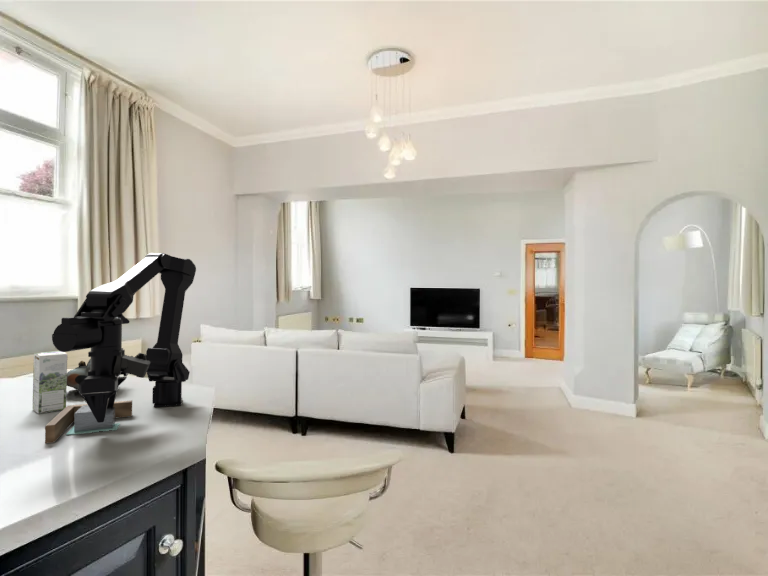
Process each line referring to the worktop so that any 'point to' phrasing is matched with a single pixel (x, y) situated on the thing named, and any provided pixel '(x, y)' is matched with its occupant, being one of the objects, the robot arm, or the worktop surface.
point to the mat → (92, 430)
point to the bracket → (92, 419)
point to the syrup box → (49, 381)
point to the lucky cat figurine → (78, 374)
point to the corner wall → (67, 418)
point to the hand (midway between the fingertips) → (105, 416)
